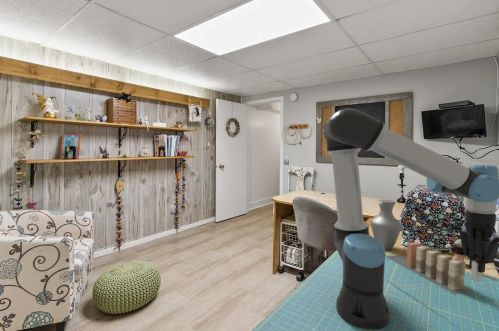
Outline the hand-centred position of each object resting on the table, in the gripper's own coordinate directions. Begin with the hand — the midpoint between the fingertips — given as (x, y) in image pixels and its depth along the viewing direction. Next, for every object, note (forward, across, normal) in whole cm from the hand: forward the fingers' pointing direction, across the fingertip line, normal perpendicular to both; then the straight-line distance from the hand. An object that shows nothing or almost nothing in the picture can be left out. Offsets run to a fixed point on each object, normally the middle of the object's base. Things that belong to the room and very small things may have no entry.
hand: (476, 279), depth 86 cm
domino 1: (+6, +24, 0) cm, 25 cm away
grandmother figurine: (+8, +21, -20) cm, 30 cm away
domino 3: (+6, +15, 0) cm, 17 cm away
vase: (+8, +46, -5) cm, 47 cm away
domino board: (+7, +19, 0) cm, 21 cm away
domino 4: (+6, +11, 0) cm, 13 cm away
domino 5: (+6, +6, 0) cm, 9 cm away
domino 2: (+6, +20, 0) cm, 21 cm away
